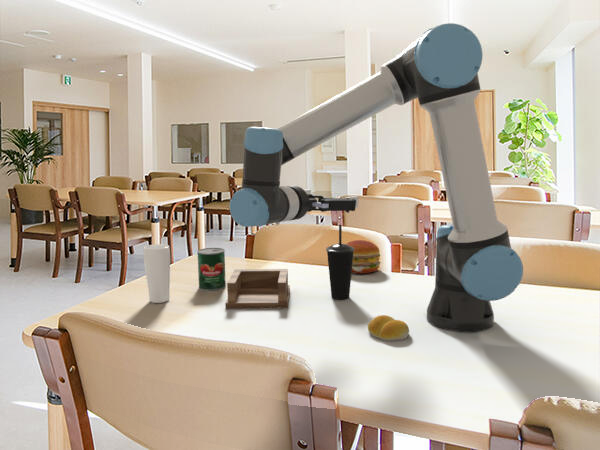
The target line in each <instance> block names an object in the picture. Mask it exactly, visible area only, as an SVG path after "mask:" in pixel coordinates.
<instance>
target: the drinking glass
mask: <svg viewBox="0 0 600 450" xmlns="http://www.w3.org/2000/svg"><path fill="white" fill-rule="evenodd" d="M143 263H144V270H145V276H146V283H147V289H148V290H147V291H148V300H149V302H150V303H153V304H162V303H163V304H164V303H166V302H168V301H169V300H170V299H171V298H170V297H171V296H170V294H171V293H170V284H171V283H170V282H171V280H170V279H171V278H170V277H171V276H170V275H171V251H170V245H168V244H165V243H164V244H163V243H157V244H149V245H145V246H144V247H143Z"/></svg>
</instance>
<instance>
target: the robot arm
mask: <svg viewBox="0 0 600 450" xmlns="http://www.w3.org/2000/svg"><path fill="white" fill-rule="evenodd" d="M482 62H483V49H482V45H481V42H480V40H479V38H478V37H477V35H476V34H475V33H474V32H473V31H472V30H471V29H469V28H467V27H466V26H464V25H462V24H458V23H451V22H450V23H448V22H447V23H443V24H439V25H436V26H434V27H431V28H428V29H427V30H426V31H425V32H423V34H422V35H420V37H419V38H417V39H416V40H414V41H413V42H412V43H411V44H409V45H408V46H407V47H406V48H405V49H404V50H403V51H402V52H401V53H399V54H398V55H396V57H395V58H392V59H391V60H389V61H388V62H385V63H383V65H382V64H381V66H380V69H379V72H377V73H376V74H374V75H372V76H370V77H368V78H366V79H365V80H363V81H361V82H359V83H358V84H356V85H354V86H352V87H350V88H348V89H347V90H345V91H343V92H342V93H340V94H337V95H335V96H333V97H331V98H330V99H328V100H326V101H325V102H323V103H321V104H319V105H317V106H315V107H314V108H311V109H310V110H308V111H307V112H305V113H303V114H301V115H300V116H298V117H295V118H294V119H292V120H291V121H289V122H286V123H285V124H283V125H281V126H279V127H278V128H272V127H271V128H270V127H258V126H249V127H247V128H246V130H245V134H244V141H243V161H242V163H243V164H242V165H243V167H242V168H243V169H242V170H243V171H242V181H241V188H240V189H239V190H237V191H236V192H234V194H233V195H232V197H231V199H230V201H229V206H228V207H229V212H230V216H231V217H232V219H233V220H234V221H235V223H236V224H237V225H239V226H241V227H244V228H245V227H246V228H250V227H251V228H252V227H264V226H266V225H272V224H275V225H276V226H279V225H280V223H281V222H288V221H289V222H290V221H297V220H300V219H302V218H303V217H304V216H305V215H306V214H307V213H308V212H309V213H310V212H312V211H314V212H317V211H318V212H319V211H320V212H322V213H325V212H341V211H342V212H345V213H348V214H349V213H350V211H351V212H354V211H356V208H358V207H359V202H360V201H359V199H360V196H359V195H354V196H353V195H352V196H345V197H343V198H342V197H341V198H339V197H324V196H323V195H320V194H312V190H311V189H308V188H307V189H303V188H302V187H300V186H298V185H286V186H285V185H281V172H282V166H283V165H285V164H287V163H288V162H291V161H292V160H294V159H295V158H298V157H300V156H301V155H303V154H305V153H307V152H309V151H311V150H312V149H314V148H316V147H318V146H320V145H321V144H324V143H326V142H327V141H329V140H330V139H332V138H335V137H337V136H338V135H340V134H343V133H344V132H345V131H348V130H349V129H352V128H353V127H355V126H357V125H359V124H360V123H362V122H364V121H366V120H367V119H370V118H372V117H373V116H375V115H377V114H379V113H381V112H382V111H383V112H384V111H385V110H387V109H388V108H390V107H392V106H394V105H398V106H403V105H405V104H407V103H409V102H411V101H413V100H415V99H417V100H418V104H419V107H420V108H421V109H423V110H425V111H426V112H427V113H428V114H429V116H430V122H431V128H432V131H433V136H434V140H435V147H436V151H437V156H438V160H439V165H440V169H441V174H442V179H443V185H444V188H445V193H446V198H447V202H448V207H449V208H448V209H449V213H450V218H451V221H452V224H444V225H443V224H442V225H441V226H439V227H438V228H437V232H436V237H435V242H436V246H435V247H436V248H435V251H436V253H435V284H434V290H433V292H432V295H431V297H430V300H429V302H428V305H427V309H426V321H428V322H429V323H430V324H431V325H433V326H435V327H437V328H440V329H444V330H449V331H454V332H463V333H464V332H465V333H468V332H470V333H471V332H481V331H487V330H489V329H491V328H492V327H493V326H494V322H495V313H494V310H493V307H492V304H491V302H493V301H494V302H495V301H499V300H502V299H505V298H507V297H508V296H510V295H511V294H513V292H515V291H516V289H517V288H518V286H519V285H520V284H521V282H522V279H523V276H524V265H523V261H522V259H521V257H520V256H519V254H518V253H517V251H515V250H514V248H512V245H511V240H510V235H509V230H508V226H507V225H506V224H504V223H503V222H500V220H498V217H497V210H496V205H495V201H494V196H493V191H492V186H491V185H492V184H491V180H490V175H489V171H488V166H487V161H486V154H485V150H484V144H483V140H482V133H481V130H480V129H481V128H480V123H479V118H478V114H477V108H476V105H475V104H476V103H475V101H476V99H477V98H478V96H479V94H480V93H481V92H482V88H481V85H480V78H479V74H478V73H479V71H480V69H481V66H482ZM280 185H281V186H280Z"/></svg>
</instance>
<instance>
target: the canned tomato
mask: <svg viewBox="0 0 600 450" xmlns="http://www.w3.org/2000/svg"><path fill="white" fill-rule="evenodd" d="M225 252H226V251H225V249H224V248H221V247H207V248H201V249H198V250H197V252H196V253H197V271H198V273H197V274H198V289H199V290H201V291H208V292H211V291H214V292H215V291H220V290H223V289H225V288H226V287H227V282H226V258H225V257H226V256H225Z"/></svg>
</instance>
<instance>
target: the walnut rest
mask: <svg viewBox="0 0 600 450" xmlns="http://www.w3.org/2000/svg"><path fill="white" fill-rule="evenodd" d="M288 270H289V269H288V268H266V269H265V268H261V269H258V268H255V269H254V268H253V269H252V268H251V269H250V268H249V269H247V268H245V269H243V268H242V269H241V268H239V269H238V268H237V269H234V270H233V272H232V274H231V276H230V277H229V280H228V281H227V282H226V287H227V288H226V289H227V299H226V300H225V303H224V304H225V305H224V306H225V309H229V310H231V309H232V310H233V309H236V310H238V309H240V310H242V309H244V310H245V309H289V300H290V293H291V292H290V291H291V285H290V284H289V273H288V272H289V271H288Z"/></svg>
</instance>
